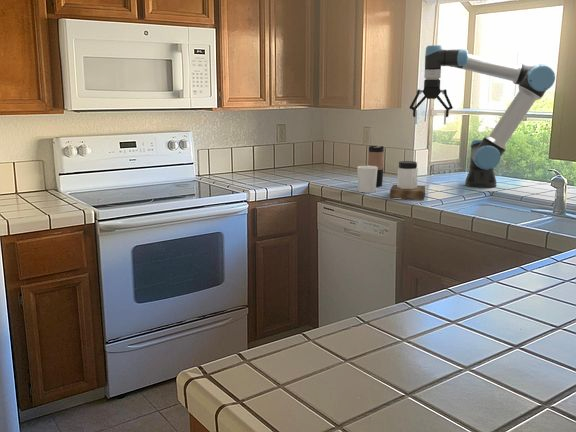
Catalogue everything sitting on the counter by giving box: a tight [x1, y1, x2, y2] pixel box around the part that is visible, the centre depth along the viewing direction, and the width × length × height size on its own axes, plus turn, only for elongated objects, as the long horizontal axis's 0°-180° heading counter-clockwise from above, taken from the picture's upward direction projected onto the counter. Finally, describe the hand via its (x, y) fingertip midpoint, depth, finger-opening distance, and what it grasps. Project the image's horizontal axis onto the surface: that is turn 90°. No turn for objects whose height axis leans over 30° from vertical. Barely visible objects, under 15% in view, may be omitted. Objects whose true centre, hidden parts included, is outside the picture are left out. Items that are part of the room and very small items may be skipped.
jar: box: [396, 160, 418, 189], centre depth 273 cm, size 9×8×12 cm
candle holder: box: [356, 165, 378, 194], centre depth 287 cm, size 10×10×12 cm
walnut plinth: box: [389, 184, 426, 201], centre depth 275 cm, size 15×15×4 cm
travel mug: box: [367, 145, 385, 188], centre depth 301 cm, size 8×8×20 cm
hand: (430, 124), depth 288 cm, fingers open, 13 cm apart
